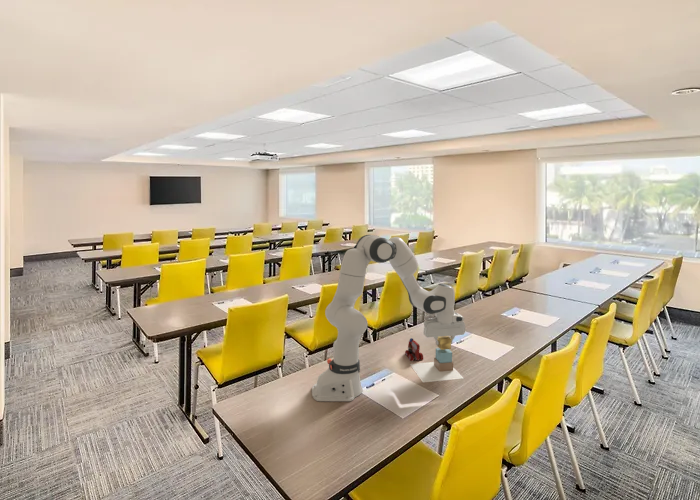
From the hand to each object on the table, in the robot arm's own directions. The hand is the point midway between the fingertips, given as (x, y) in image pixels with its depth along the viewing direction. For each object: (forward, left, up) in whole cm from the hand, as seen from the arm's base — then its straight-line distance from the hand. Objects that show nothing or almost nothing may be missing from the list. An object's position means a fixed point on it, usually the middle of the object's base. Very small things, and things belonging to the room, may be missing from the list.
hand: (444, 344), depth 188 cm
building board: (-5, -2, -13) cm, 15 cm away
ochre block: (0, 0, -2) cm, 2 cm away
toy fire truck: (-10, +15, -14) cm, 23 cm away
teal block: (0, 0, -8) cm, 8 cm away
